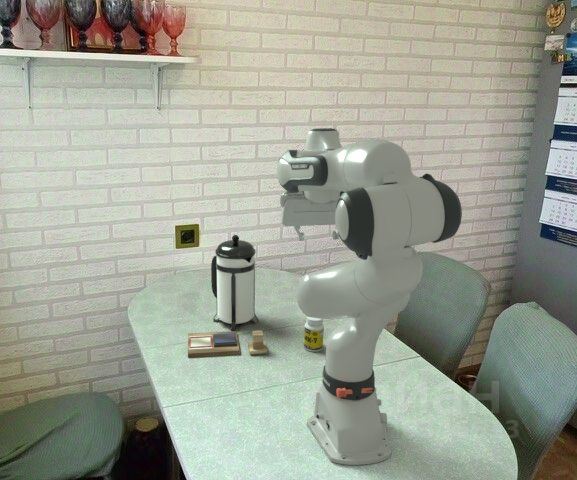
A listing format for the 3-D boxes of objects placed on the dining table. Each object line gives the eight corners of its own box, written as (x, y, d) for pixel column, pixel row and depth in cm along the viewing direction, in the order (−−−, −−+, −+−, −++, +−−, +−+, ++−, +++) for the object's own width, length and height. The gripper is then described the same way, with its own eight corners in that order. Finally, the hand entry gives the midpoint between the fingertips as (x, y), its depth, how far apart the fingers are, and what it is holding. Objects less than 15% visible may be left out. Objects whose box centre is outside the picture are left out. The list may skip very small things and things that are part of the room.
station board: (239, 354, 167) (239, 347, 166) (188, 357, 164) (187, 350, 164) (236, 334, 179) (236, 327, 178) (188, 336, 176) (188, 330, 176)
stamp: (267, 354, 167) (267, 336, 165) (249, 355, 166) (249, 337, 164) (265, 346, 172) (265, 328, 170) (248, 347, 171) (248, 329, 169)
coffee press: (261, 312, 196) (262, 228, 187) (254, 332, 180) (255, 243, 172) (212, 309, 197) (211, 226, 188) (201, 329, 182) (199, 240, 173)
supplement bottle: (300, 349, 171) (301, 318, 168) (308, 341, 175) (309, 311, 172) (318, 354, 168) (319, 322, 165) (325, 346, 173) (327, 315, 170)
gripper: (282, 195, 141) (281, 245, 147) (361, 193, 144) (358, 242, 149) (278, 187, 147) (278, 236, 152) (355, 185, 149) (352, 233, 155)
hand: (318, 239), depth 151 cm, fingers open, 8 cm apart
